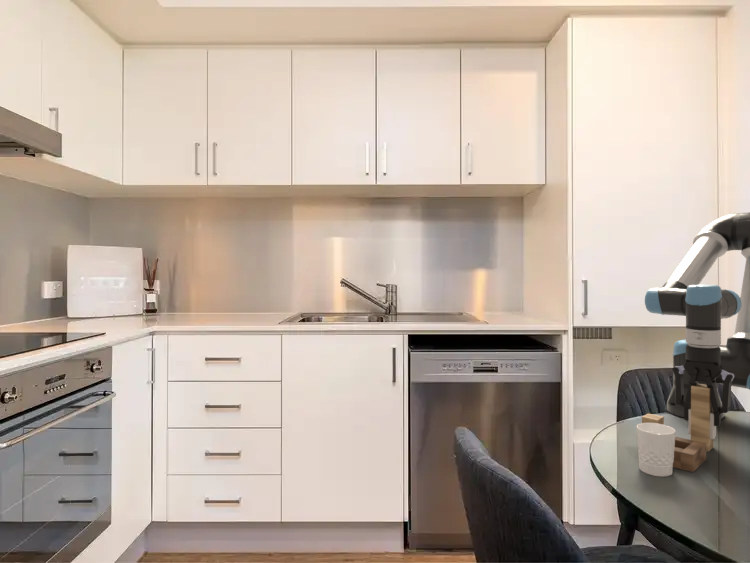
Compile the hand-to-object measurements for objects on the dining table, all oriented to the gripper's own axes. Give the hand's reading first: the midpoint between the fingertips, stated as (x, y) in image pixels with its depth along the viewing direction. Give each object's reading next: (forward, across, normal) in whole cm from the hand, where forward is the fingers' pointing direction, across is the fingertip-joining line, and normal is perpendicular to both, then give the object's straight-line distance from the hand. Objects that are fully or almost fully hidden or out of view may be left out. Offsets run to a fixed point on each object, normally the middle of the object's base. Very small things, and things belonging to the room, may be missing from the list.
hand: (702, 435), depth 130 cm
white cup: (+3, -3, -23) cm, 23 cm away
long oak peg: (+3, 0, 0) cm, 3 cm away
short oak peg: (+3, -10, -5) cm, 12 cm away
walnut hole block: (+3, -2, -13) cm, 14 cm away
